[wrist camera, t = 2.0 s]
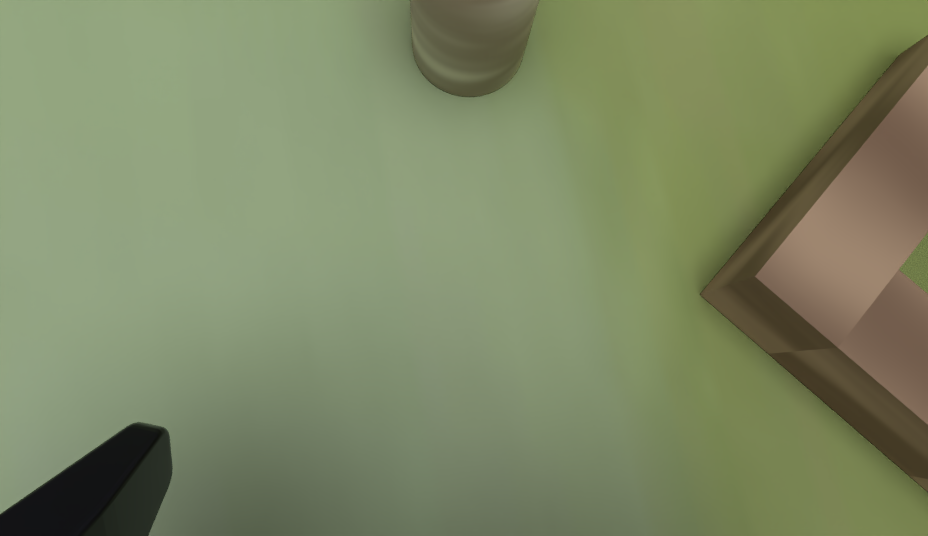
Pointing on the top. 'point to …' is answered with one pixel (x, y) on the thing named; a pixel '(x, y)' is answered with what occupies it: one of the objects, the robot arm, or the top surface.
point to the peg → (470, 42)
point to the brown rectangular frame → (850, 269)
